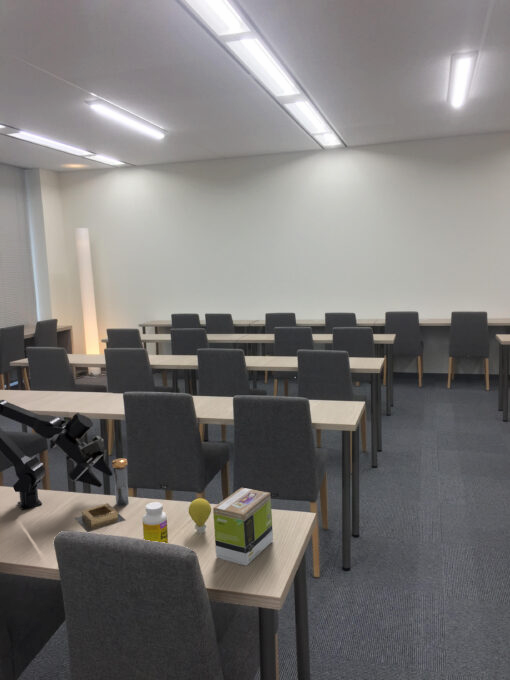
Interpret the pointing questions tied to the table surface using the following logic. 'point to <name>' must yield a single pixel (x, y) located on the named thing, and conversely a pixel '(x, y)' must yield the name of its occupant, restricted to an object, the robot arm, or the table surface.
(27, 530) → the table surface
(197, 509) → the light bulb
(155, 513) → the supplement bottle
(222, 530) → the tea box
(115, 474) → the copper capped grey cylinder
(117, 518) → the tan square base
